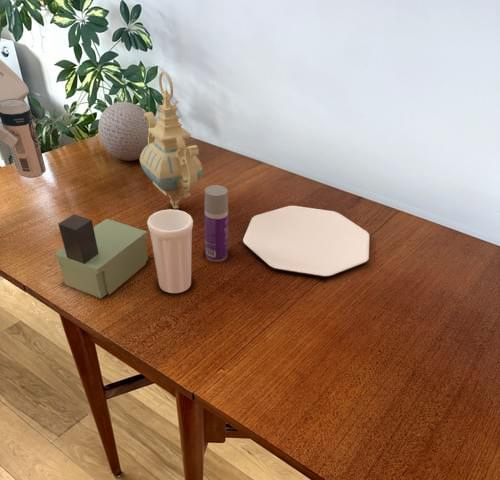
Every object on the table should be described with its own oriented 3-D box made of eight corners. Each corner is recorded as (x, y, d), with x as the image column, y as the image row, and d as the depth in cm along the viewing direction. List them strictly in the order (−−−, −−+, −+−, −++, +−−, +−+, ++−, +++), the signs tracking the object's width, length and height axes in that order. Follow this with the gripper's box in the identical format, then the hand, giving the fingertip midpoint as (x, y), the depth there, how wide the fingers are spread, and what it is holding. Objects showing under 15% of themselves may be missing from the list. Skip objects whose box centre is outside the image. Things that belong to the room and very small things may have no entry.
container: (229, 260, 98) (231, 194, 88) (208, 263, 97) (207, 196, 87) (224, 248, 102) (225, 183, 91) (203, 251, 100) (201, 185, 90)
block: (66, 257, 84) (57, 223, 80) (82, 247, 87) (74, 213, 82) (84, 264, 83) (76, 229, 78) (98, 253, 86) (91, 219, 81)
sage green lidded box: (62, 283, 90) (53, 253, 85) (112, 247, 100) (106, 218, 95) (103, 300, 87) (97, 269, 82) (150, 260, 97) (147, 231, 92)
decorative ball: (167, 159, 134) (162, 104, 124) (123, 174, 126) (115, 116, 116) (135, 144, 141) (129, 91, 131) (92, 157, 133) (82, 101, 123)
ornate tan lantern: (219, 224, 109) (219, 85, 88) (175, 237, 104) (164, 92, 84) (174, 183, 123) (165, 55, 103) (133, 193, 118) (115, 60, 98)
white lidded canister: (51, 173, 84) (33, 103, 75) (27, 181, 81) (5, 109, 73) (37, 165, 86) (18, 95, 78) (13, 173, 83) (-10, 101, 75)
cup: (197, 296, 89) (194, 231, 79) (154, 299, 88) (146, 233, 78) (194, 271, 95) (191, 208, 85) (154, 274, 94) (146, 209, 84)
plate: (258, 205, 117) (259, 200, 116) (368, 221, 113) (370, 216, 112) (233, 267, 97) (233, 261, 96) (366, 288, 93) (368, 282, 92)
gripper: (-89, 70, 63) (3, 148, 70) (-12, 38, 78) (58, 105, 85) (-104, 102, 67) (-15, 174, 73) (-28, 66, 81) (41, 128, 88)
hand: (25, 136), depth 79 cm, fingers closed on white lidded canister, 5 cm apart
